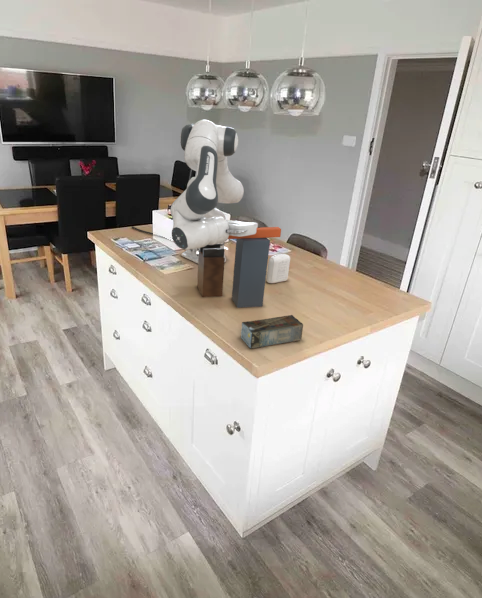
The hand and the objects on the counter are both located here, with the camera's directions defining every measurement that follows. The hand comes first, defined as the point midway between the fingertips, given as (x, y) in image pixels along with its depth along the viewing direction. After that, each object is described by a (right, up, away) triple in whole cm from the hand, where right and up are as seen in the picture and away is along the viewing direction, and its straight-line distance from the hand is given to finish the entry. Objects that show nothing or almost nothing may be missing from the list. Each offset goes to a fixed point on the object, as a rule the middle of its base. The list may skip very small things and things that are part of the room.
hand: (246, 223), depth 147 cm
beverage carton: (+7, -40, -11) cm, 42 cm away
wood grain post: (-14, -24, +21) cm, 34 cm away
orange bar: (0, -4, +2) cm, 5 cm away
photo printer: (+15, -19, +36) cm, 43 cm away
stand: (+1, -28, +13) cm, 31 cm away
